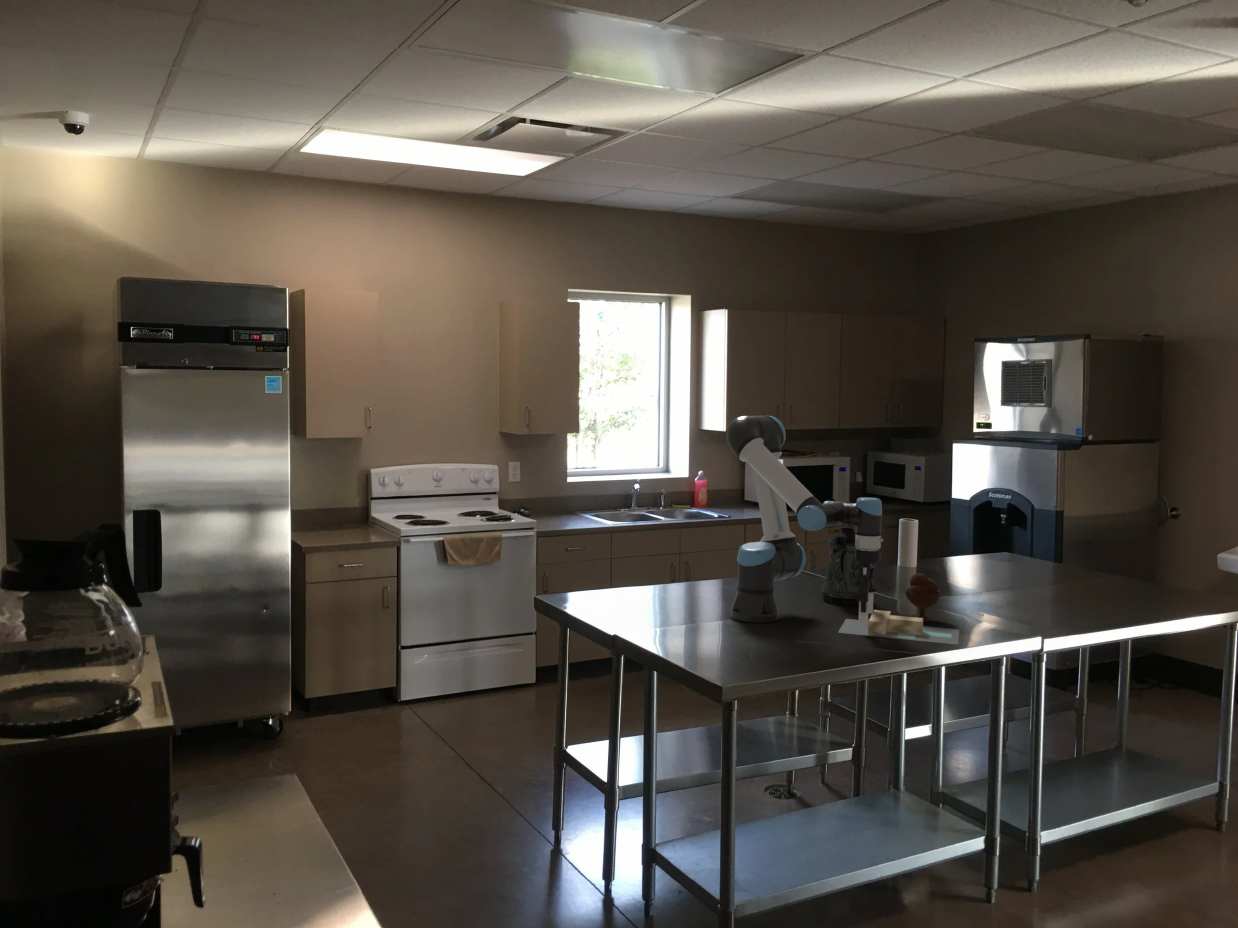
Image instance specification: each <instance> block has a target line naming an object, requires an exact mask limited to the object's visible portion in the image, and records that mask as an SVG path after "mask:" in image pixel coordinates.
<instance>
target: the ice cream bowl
mask: <svg viewBox="0 0 1238 928" xmlns="http://www.w3.org/2000/svg"><path fill="white" fill-rule="evenodd" d="M909 586H910V587H909V588H905V591H904V592H905V596H906V599H907V600H908V602H909V603H910V604H911V605H913V606H915V607H917V608H918V610H919V611H918V613H919V614H918V615H915V616H914V617H915V618H923V622H929V621H931V618H930V617H928V616H927V615H926V609H927V608H931V607H933V606H934V605H936V604H937V602H938V601H939V600H940V596H941V593H942V592H941V590H938V585H937V583H936V582H935V580H933V579H932V578H929V577H928V576H927V575H926V574H924V573H914V574H913V575H911V577H910V579H909Z"/></svg>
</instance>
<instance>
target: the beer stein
mask: <svg viewBox="0 0 1238 928" xmlns="http://www.w3.org/2000/svg"><path fill="white" fill-rule="evenodd" d="M855 534H856V531H855V528H852V527H842V528H840V530H839V532H837V533H836V534H835V535H833V536H832V537H831V538H830V539H829V540H828V546H829V548H830V550H829V556H828V561H827V566H826V572H825V579H824V583H823V586H822V587H821V591H820V592H821V594H822V600H823V601H824V602H826V603H830V604H836V605H842V606H859V601H857V598H858V597H859V588H860V568H861V567H862V566H863V563H862V562H857V561H855V550H856V549H857V548H856V547H855Z"/></svg>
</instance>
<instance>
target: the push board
mask: <svg viewBox="0 0 1238 928" xmlns="http://www.w3.org/2000/svg"><path fill="white" fill-rule="evenodd" d="M858 622H859V619H851V618H845V620H844V622H843V623H842V624H841V627H840V628H839V630H838V632H837V633H840V634H849V635H857V636H866V637H867V636H870V637H879V638H889V639H897V640H907V641H908V640H910V641H918V642H928V643H938V644H949V645H959V640H960V639H959V638H960V629H957V628H948V627H947V628H945V627H938V626H937V627H936V626H934V627H933V626H928V625H927V626H925V625H923V632H922V635H916V634H905V633H895V632H887V633H886V635H885V636H880V635H870V634H868V623H858Z"/></svg>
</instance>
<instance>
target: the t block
mask: <svg viewBox="0 0 1238 928" xmlns="http://www.w3.org/2000/svg"><path fill="white" fill-rule="evenodd" d="M891 613H892V612H891V610H890V611H889V610H880V609H879V610H878V609H873V613H872V614H870V618H868V634H870V635H880V636H885V635H886V633H887V632H895V633H905V634H916V635H922V632H923V626H924V621H923V618H915V617H916V616H914V617H913V616H912V617H911V616H905V615H904V616H902V615H892V614H891Z"/></svg>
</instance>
